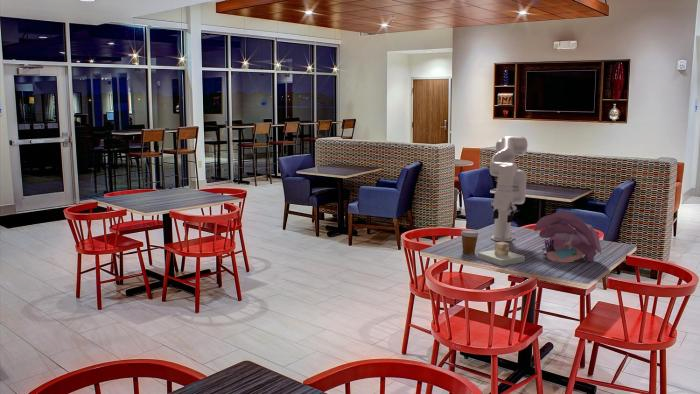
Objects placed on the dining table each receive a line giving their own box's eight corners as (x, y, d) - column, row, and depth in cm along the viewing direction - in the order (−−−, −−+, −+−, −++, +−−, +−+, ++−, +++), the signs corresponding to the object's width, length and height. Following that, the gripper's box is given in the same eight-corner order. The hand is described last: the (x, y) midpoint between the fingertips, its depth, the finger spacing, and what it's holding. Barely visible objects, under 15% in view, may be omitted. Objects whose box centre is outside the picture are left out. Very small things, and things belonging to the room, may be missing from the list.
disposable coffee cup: (464, 255, 334) (465, 233, 332) (456, 250, 343) (458, 229, 341) (480, 254, 337) (481, 233, 335) (472, 250, 346) (473, 229, 344)
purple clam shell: (530, 266, 335) (526, 217, 326) (540, 248, 354) (536, 202, 346) (600, 270, 318) (598, 219, 309) (606, 251, 337) (604, 202, 329)
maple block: (501, 252, 330) (501, 241, 329) (508, 254, 326) (509, 243, 325) (494, 253, 327) (495, 242, 326) (501, 256, 323) (502, 244, 322)
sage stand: (500, 254, 339) (500, 248, 338) (524, 261, 325) (524, 256, 324) (477, 258, 330) (477, 252, 329) (501, 266, 316) (501, 260, 315)
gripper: (487, 186, 329) (485, 217, 332) (512, 191, 314) (510, 224, 318) (497, 185, 333) (495, 216, 336) (522, 190, 318) (520, 223, 322)
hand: (502, 220), depth 327 cm, fingers open, 9 cm apart
